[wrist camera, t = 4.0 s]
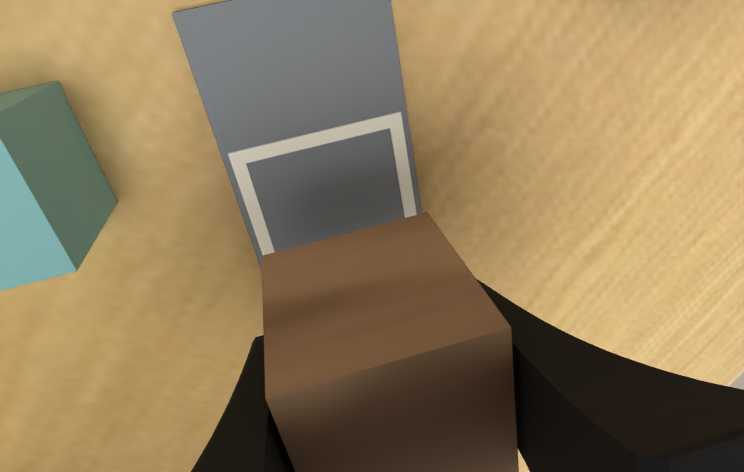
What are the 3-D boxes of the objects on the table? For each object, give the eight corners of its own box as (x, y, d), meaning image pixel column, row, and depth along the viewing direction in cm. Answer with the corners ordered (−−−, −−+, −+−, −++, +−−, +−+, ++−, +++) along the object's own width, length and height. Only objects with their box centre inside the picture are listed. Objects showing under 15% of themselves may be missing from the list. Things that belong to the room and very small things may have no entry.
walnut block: (445, 338, 15) (518, 480, 11) (304, 379, 15) (324, 543, 11) (426, 212, 13) (510, 327, 9) (261, 255, 13) (265, 398, 8)
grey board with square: (436, 330, 24) (440, 337, 24) (298, 370, 24) (299, 378, 23) (382, -32, 17) (386, -33, 16) (173, 12, 16) (171, 13, 15)
